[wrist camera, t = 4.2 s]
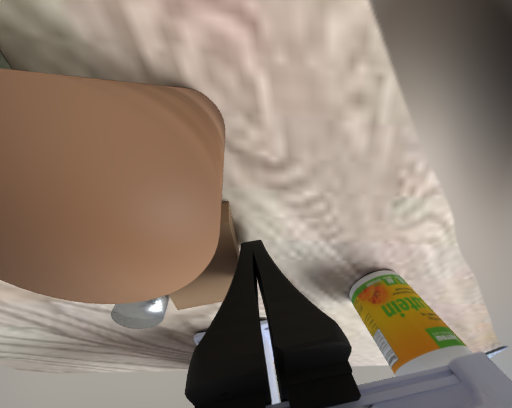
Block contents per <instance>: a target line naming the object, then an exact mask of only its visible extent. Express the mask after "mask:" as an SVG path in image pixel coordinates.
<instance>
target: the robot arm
mask: <svg viewBox="0 0 512 408" xmlns="http://www.w3.org/2000/svg"><path fill="white" fill-rule="evenodd" d="M257 280H258V284H259V288H260V292H261V296H262V299H263V303H264V307H265V312H266V316H267V320H263V321H260V317H259V306H258V290H257ZM194 342H195V343H196V345H197V347H196V348H195V350H194V352H193V355H192V359H191V362H190V366H189V370H188V374H187V381H186V389H185V395H186V397H187V399H188V400H189V401H190V402H191V403H192V404H193V405H194V406H195V408H512V381H511V380H510V379H509V378H508V377H507V376H506V375H505V374H504V373H503V372H502V371H501V370H500V369H499V368H498V367H497V366H496V365H495V364H494V363H493V362H492V361H491V360H490V359H489V358H488V357H487V356H486V355H485V354H484V353H483V352H476V353H471V354H467V355H462V356H459V357H456V358H454V359H452V360H451V361H450V362H449V363H448V365H445V366H441V367H437V368H432V369H428V370H423V371H419V372H414V373H410V374H405V375H401V376H396V377H392V378H388V379H384V380H379V381H374V382H370V383H365V384H361V385H356V382H355V380H354V378H353V376H352V369H351V366H350V364H349V362H348V358H349V356H350V353H351V348H352V347H351V345H350V343H349V341H348V339H347V338H346V336H345V334H344V333H343V331H342V330H341V328H340V327H339V325H338V324H337V323H336V322H335V321H334V320H333V319H331V318H330V317H329V316H327V315H326V314H325V313H323V312H322V311H321V310H320V309H318V308H317V307H316V306H315V305H314V304H312V303H311V302H310V301H309V300H308V299H307V298H306V297H305V296H304V295H303V294H301V293H300V292H299V291H298V290H297V289H296V288H295V287H294V286H293V285H292V284H291V282H290V281H289V280H288V279H287V278H286V277H285V276H284V275H283V273H282V272H281V271H280V270H279V268H278V267H277V266H276V264H275V263H274V261H273V260H272V259H271V257H270V256H269V254H268V252H267V251H266V249H265V247H264V245H263V243H262V241H261V240H256V241H250V242H244V243H242V244H241V249H240V255H239V260H238V263H237V267H236V271H235V274H234V276H233V279H232V282H231V285H230V287H229V290H228V292H227V294H226V296H225V299H224V301H223V303H222V305H221V307H220V309H219V311H218V313H217V314H216V316H215V318H214V320H213V321H212V323H211V325H210V326H209V328H208V330H207V331H206V332H202V333H197V334H195V335H194ZM273 360H274V363H275V369H276V375H277V381H278V387H279V393H280V399H281V403H280V402H279V396H278V390H277V384H276V378H275V372H274V366H273Z"/></svg>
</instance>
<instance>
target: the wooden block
mask: <svg viewBox="0 0 512 408" xmlns="http://www.w3.org/2000/svg"><path fill="white" fill-rule="evenodd" d="M239 255H240V253H239V248H238V243H237V239H236V234H235V229H234V224H233V220H232V215H231V210H230V206H229V202H223V203H221V218H220V234H219V240H218V245H217V248H216V251H215V254H214V256H213V258H212V259H211V261H210V263H209V264H208V266H207V267H206V268H205V270H204V271H203V272H202V273H201V274H200V275H199V276H198V277H197V278H196V279H194V280H193V281H192V282H190V283H189V284H188V285H186V286H184V287H182V288H181V289H179V290H177V291H175V292H172V293H170V294H168V295H169V296H170V298H171V300H172V301H173V303H174V305H175V306H176V308H177V310H181V309H186V308H191V307H196V306H201V305H207V304H212V303H217V302H222V301H224V299H225V296H226V294H227V292H228V290H229V287H230V285H231V282H232V279H233V276H234V274H235V271H236V267H237V263H238V260H239Z"/></svg>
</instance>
